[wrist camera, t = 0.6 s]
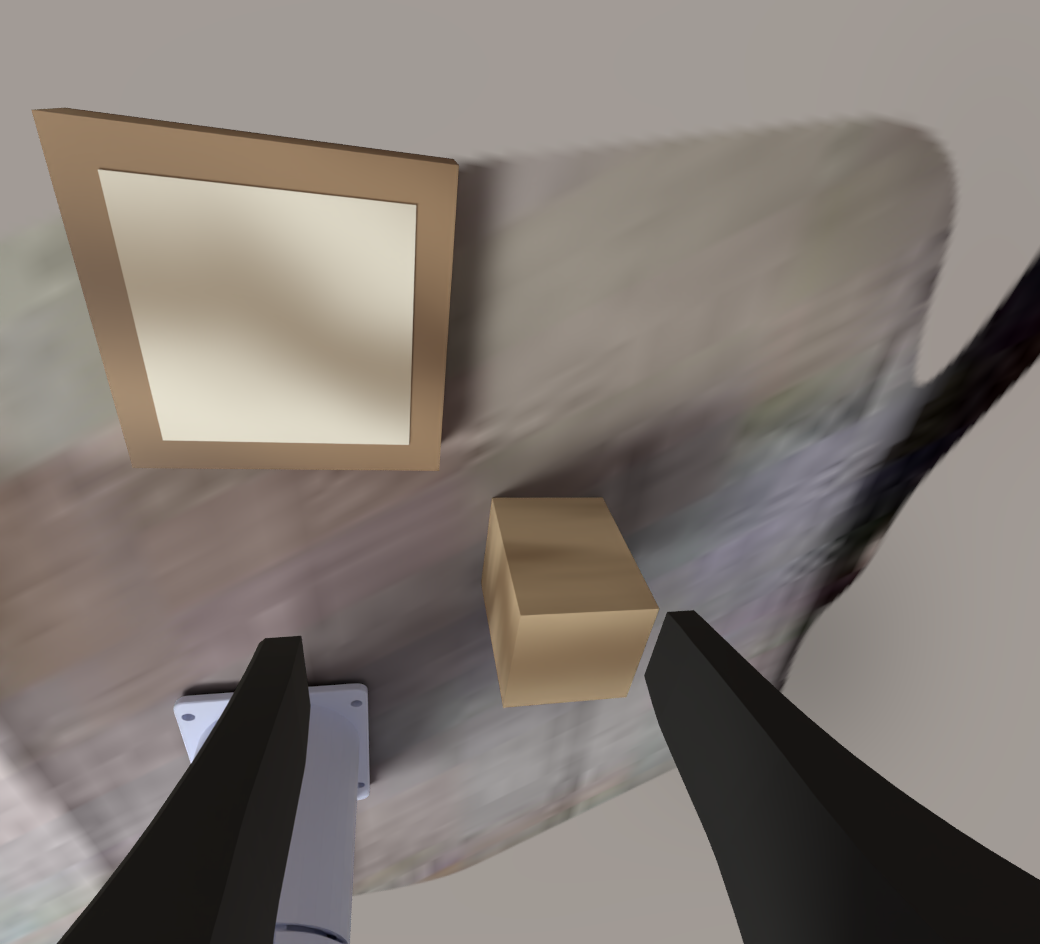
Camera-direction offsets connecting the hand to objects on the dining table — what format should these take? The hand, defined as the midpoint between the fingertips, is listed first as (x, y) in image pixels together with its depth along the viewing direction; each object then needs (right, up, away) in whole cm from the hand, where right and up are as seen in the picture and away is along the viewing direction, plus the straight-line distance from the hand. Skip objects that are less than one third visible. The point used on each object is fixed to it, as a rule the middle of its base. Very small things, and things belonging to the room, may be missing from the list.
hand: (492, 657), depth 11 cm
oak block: (+1, +1, +12) cm, 12 cm away
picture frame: (-6, +8, +5) cm, 12 cm away
